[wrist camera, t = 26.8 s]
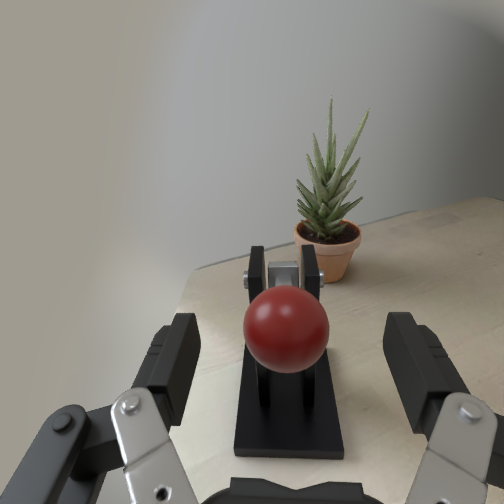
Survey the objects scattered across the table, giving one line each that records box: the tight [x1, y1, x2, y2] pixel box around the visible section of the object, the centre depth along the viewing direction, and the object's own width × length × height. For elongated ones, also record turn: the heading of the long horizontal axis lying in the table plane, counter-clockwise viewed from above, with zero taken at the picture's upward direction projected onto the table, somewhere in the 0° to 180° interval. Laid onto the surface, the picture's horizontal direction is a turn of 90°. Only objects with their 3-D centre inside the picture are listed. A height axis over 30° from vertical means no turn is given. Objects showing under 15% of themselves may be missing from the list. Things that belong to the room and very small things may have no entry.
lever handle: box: [243, 261, 329, 373], centre depth 19 cm, size 14×4×4 cm, turn 176°
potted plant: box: [294, 96, 369, 283], centre depth 43 cm, size 10×10×25 cm
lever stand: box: [234, 244, 344, 459], centre depth 27 cm, size 12×9×16 cm
